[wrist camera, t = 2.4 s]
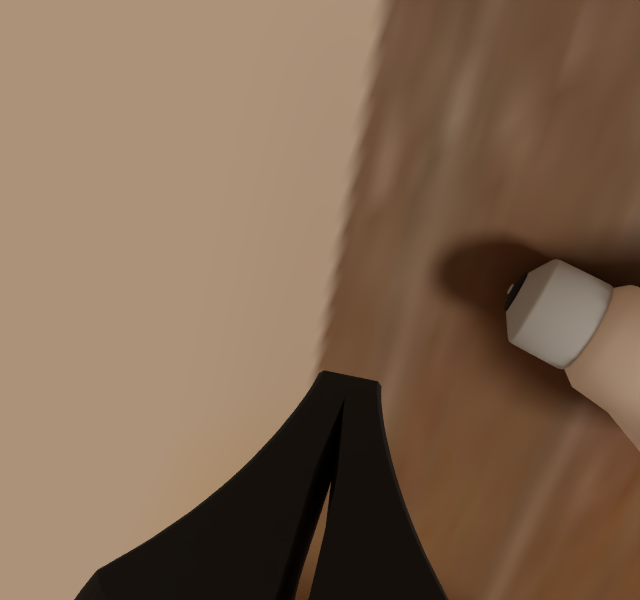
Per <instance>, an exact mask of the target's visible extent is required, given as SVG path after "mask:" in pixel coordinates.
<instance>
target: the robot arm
mask: <svg viewBox="0 0 640 600" xmlns="http://www.w3.org/2000/svg"><path fill="white" fill-rule="evenodd" d="M330 483H331V487H330V495H329V504H328V512H327V521H326V528H325V533H324V537H323V541H322V545H321V550H320V554H319V558H318V562H317V567H316V571H315V575H314V579H313V584H312V588H311V592H310V596H309V600H448V598H447V596H446V594H445V592H444V590H443V588H442V586H441V584H440V582H439V580H438V578H437V576H436V574H435V572H434V570H433V568H432V566H431V564H430V562H429V560H428V558H427V556H426V554H425V552H424V550H423V547H422V545H421V543H420V540H419V538H418V536H417V533H416V531H415V529H414V526H413V523H412V521H411V518H410V516H409V513H408V511H407V508H406V505H405V502H404V499H403V496H402V493H401V490H400V487H399V484H398V480H397V477H396V474H395V470H394V467H393V463H392V459H391V455H390V451H389V446H388V442H387V438H386V433H385V427H384V421H383V414H382V404H381V385H380V384H379V383H378V381H373V380H368V379H363V378H359V377H354V376H349V375H344V374H339V373H334V372H329V371H322V372H320V373H319V374H318V376H317V378H316V380H315V382H314V383H313V385H312V386H311V388H310V390H309V391H308V393H307V394H306V396H305V397H304V398H303V400H302V401H301V402H300V404H299V405H298V407H297V408H296V409H295V411H294V412H293V413H292V414H291V415H290V417H289V418H288V419H287V420H286V422H285V423H284V424H283V425H282V427H281V428H280V429H279V430H278V431H277V432H276V434H275V435H274V436H273V437H272V438H271V439H270V440H269V441H268V442H267V443H266V444H265V445H264V446H263V448H262V449H261V450H260V451H259V452H258V453H257V454H256V455H255V456H254V457H253V458H252V459H251V460H250V461H249V462H248V463H247V464H246V465H245V466H244V467H243V468H242V469H241V470H240V471H239V472H238V473H236V475H234V476H233V477H232V478H231V479H230V480H229V481H227V482H226V483H225V484H224V485H223V486H222V487H221V488H219V489H218V490H217V491H216V492H214V493H213V494H212V495H211V496H209V497H208V498H207V499H206V500H205V501H203V502H202V503H201V504H199V506H197V507H196V508H194V509H193V510H192V511H191V512H189V513H188V514H186V515H185V516H184V517H182V518H180V519H179V520H178V521H176V522H175V523H173V524H172V525H170V526H169V527H167V528H166V529H164V530H163V531H161V532H160V533H158V534H157V535H156V536H154V537H153V538H151V539H150V540H148V541H146V542H145V543H143V544H142V545H140V546H138V547H136V548H135V549H133V550H131V551H129V552H128V553H126V554H124V555H122V556H121V557H119V558H117V559H116V560H114V561H112V562H110V563H109V564H107V565H105V566H103V567H102V568H100V569H98V570H97V571H96V572H95V573H94V575H93V576H92V577H91V578H90V579H89V581H88V582H87V583H86V585H85V586H84V587H83V588H82V590H81V591H80V593H79V594H78V595H77V597H76V598H75V599H74V600H294V599H295V595H296V591H297V587H298V583H299V580H300V576H301V573H302V569H303V566H304V563H305V560H306V557H307V554H308V550H309V547H310V544H311V541H312V538H313V535H314V532H315V529H316V526H317V523H318V520H319V517H320V514H321V511H322V508H323V504H324V501H325V498H326V495H327V492H328V489H329V486H330Z"/></svg>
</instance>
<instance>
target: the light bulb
mask: <svg viewBox="0 0 640 600" xmlns="http://www.w3.org/2000/svg"><path fill="white" fill-rule="evenodd" d="M507 294H508V297H507V300H506V303H505V311H506V320H507V334H508V340H509V342H510V343H512V344H513V345H515V346H517V347H519V348H521V349H523V350H525V351H526V352H528V353H530V354H532V355H534V356H536V357H538V358H539V359H541V360H543V361H545V362H547V363H549V364H551V365H552V366H554V367H556V368H558V369H564V370H565V372H566V374H567V377H568V379H569V382H570V384H571V386H572V387H573V388H574V389H576V390H577V391H579V392H580V393H581V394H583V395H584V396H586V397H587V398H588V399H590V400H591V401H593V402H594V403H595V404H597V405H598V406H600V407H601V408H602V409H604V410H605V411H607V412H608V413H609V414H610V416H611V417H612V418H613V419H614V421H615V422H616V423H617V424H618V426H619V427H620V428H621V429H622V430H623V432H624V433H625V434H626V435H627V437H628V438H629V439H630V440H631V442H632V443H633V444H634V445H635V447H636V448H637V449H638V450H639V452H640V287H637V286H634V285H627V286H621V287H616V288H613V287H612V286H611V285H610V284H608V283H606V282H604V281H602V280H600V279H598V278H596V277H594V276H592V275H590V274H588V273H586V272H584V271H582V270H579V269H577V268H575V267H573V266H571V265H569V264H567V263H565V262H563V261H561V260H558V259H554V260H551V261H550V262H548V263H546V264H544V265H542V266H540V267H538V268H536V269H535V270H533V271H531V272H529V273H525V274H524V275H522V276H521V277H520V278H519V280H518V281H517V282H516V283H515V284H512V285H511V286H510V288H509V290H508V292H507Z"/></svg>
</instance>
